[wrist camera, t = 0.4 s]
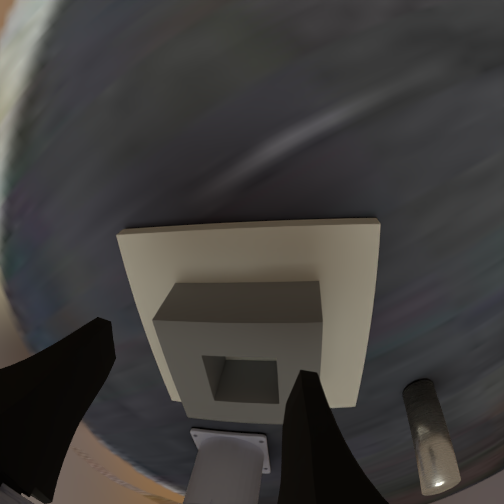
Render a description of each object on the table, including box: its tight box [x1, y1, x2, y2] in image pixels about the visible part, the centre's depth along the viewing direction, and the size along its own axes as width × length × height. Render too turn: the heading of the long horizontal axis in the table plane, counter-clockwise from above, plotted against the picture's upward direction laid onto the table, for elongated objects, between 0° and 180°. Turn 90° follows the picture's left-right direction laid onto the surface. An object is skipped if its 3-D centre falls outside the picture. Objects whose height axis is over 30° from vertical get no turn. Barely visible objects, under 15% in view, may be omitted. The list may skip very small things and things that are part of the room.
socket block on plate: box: [116, 218, 380, 424], centre depth 20 cm, size 16×16×5 cm
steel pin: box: [403, 380, 461, 496], centre depth 19 cm, size 3×3×10 cm
